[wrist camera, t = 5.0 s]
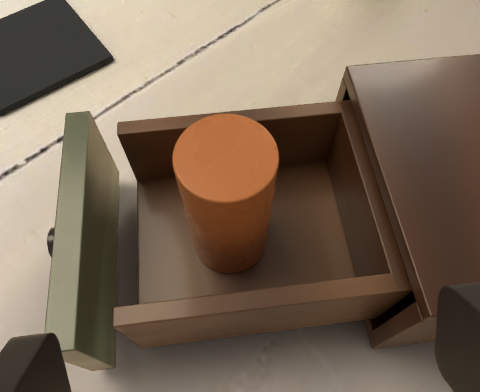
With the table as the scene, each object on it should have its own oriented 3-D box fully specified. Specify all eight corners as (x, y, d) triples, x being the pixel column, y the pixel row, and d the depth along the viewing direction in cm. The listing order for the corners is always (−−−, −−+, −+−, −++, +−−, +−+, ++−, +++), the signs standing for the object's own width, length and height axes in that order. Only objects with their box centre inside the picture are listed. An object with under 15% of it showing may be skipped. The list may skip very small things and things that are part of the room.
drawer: (66, 374, 20) (8, 358, 15) (80, 175, 26) (40, 115, 21) (378, 333, 21) (423, 306, 16) (329, 150, 27) (350, 86, 21)
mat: (-1, 116, 29) (-4, 111, 29) (-44, 43, 32) (-48, 38, 32) (114, 60, 32) (112, 55, 31) (62, -2, 35) (60, -7, 35)
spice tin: (221, 289, 21) (212, 223, 14) (178, 231, 23) (151, 146, 16) (281, 244, 22) (301, 163, 15) (237, 192, 24) (236, 97, 17)
